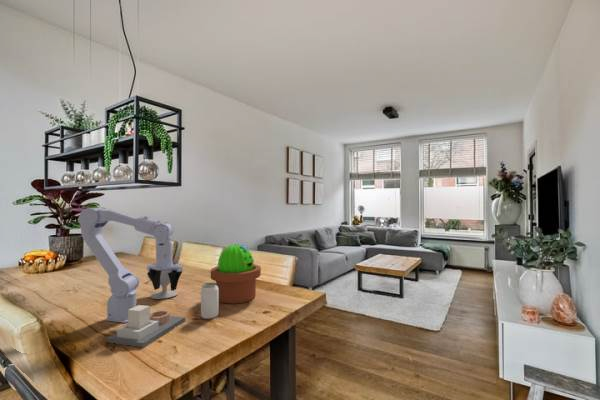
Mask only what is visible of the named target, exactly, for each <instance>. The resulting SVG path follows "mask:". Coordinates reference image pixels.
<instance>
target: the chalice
mask: <svg viewBox="0 0 600 400" xmlns="http://www.w3.org/2000/svg"><path fill="white" fill-rule="evenodd" d="M172 261H173V260H172ZM173 264H174V265H179V266H180V264H179V262H177V261H175V260H174V261H173ZM150 265H156V262H154V263H151V264H150ZM148 272H149V271H147V273H148ZM170 272H172V271H161V276H160V287H161V288H162V290H161V291H157V292H153V293H151V295H150V299H152V300H166V299H170V298H173V297H176V296H178V295H179V292H178V291H177V290H173V291H171V289H170V290H168V285H169V284H170V279H169V276H168V273H170ZM147 278H148V279H149V280H150V281H151V279H150V277H149V276H148V275H147Z"/></svg>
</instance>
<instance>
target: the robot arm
mask: <svg viewBox="0 0 600 400" xmlns="http://www.w3.org/2000/svg"><path fill="white" fill-rule="evenodd" d="M77 221H78V224H79V225H80V232H81V237H82V239H83V241H84V242H85V244H86V246H88V248H89V249H90V251H91V252H92V254H93V255H94V256H95V258H96V260H97V261H98V263H100V266H101V267H102V268H103V270H104V271H105V272H106V274H107V276H108V281H107V283H108V285H109V287H110V293H111V294H112V295H110V296H109V298H108V299H107V303H106V307H107V308H106V314H107V315H106V318H104V319H105V321H108V322H115V323H122V324H126V323H128V310H129V309H131V308H133V307H135V306H137V288H138V286H139V285H140V280H139V279H140V278H139V276H137V275H136V274H133V272H131V270H130V269H128V268H125V267H124V266H123V263H121V262H120V260H119V258H118V257H117V255H116V254H115V253H114V251H113V250H112V248H111V247H110V245H109V244H108V242H107V241H106V240H105V238H104V236H103V235H102V231H103V230H104V227H105V226H106V225H107V224H108V223H109V222H111V221H112V222H117V223H120V224H124V225H128V226H132V227H134V229H135V231H137V232H140V233H143V234H147V235H151V236H153V237H154V238H155V263H156V265H151V264H148V265H147V266H146V270H147V273H146V275H147V277H148V276H149V277H150V279H151V280H150V279H149V280H150V282H151V283H152V286H153V289H154V291H155V290H156V291H157V290H158V289H160V287H161V285H160V276H161V271H172V272H170V273H168V276H169V279H170V283H169V284H170V290H171V291H177V286H178V283H179V279H180V277H181V275H182V273H183V265H180V264H179V265H174V264H173V239H172V237H173V236H172V235H173V233H174V230H175V229H174V227H173V225H172V224H170V223H169V222H162V221H161V220H160V219H158V220H155V219H151V218H150V216H148V215H145V216H140V217H138V218H137V217H135V216H132V215H129V214H126V213H123V212H121V211H119V210H116V209H112V208H107V207H96V208H95V207H93V208H91V207H86V208H84V209H82V210H81V211H80V213H79V216H78V218H77ZM148 271H149V272H148Z"/></svg>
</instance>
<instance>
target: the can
mask: <svg viewBox="0 0 600 400" xmlns="http://www.w3.org/2000/svg"><path fill="white" fill-rule="evenodd" d="M218 315H219V301H218V286H217V284H216V282H208V283H205V284H204V283H203V284H202V285H201V289H200V317H201V318H202V319H205V320H211V319H215V318H217V317H218Z"/></svg>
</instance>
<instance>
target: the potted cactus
mask: <svg viewBox="0 0 600 400" xmlns="http://www.w3.org/2000/svg"><path fill="white" fill-rule="evenodd" d="M252 254H253V252H252V251H250V249H249V247H247V246H245V244H243V243H241V244H231V245H229V246H228V247H225V248H224V250H222V251H221V252H220V255H219V256H218V257H219V258H218V259H217V260H216V261H218V262H217V266H214V267H212V268H211V269H210V279H211V280H212V281H215V283H216V284H217V286H218V302H220V303H222V304H230V305H231V304H234V305H235V304H242V303H247V302H249V301H251V300H254V298H255V297H256V295H257V292H256V291H257V287H256V286H257V285H256V283H257V280H256V279H258V278H259V277H261V275H262V269H261V265H258V264H255V263H254V261H255V259H254V256H253V255H252Z"/></svg>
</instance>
